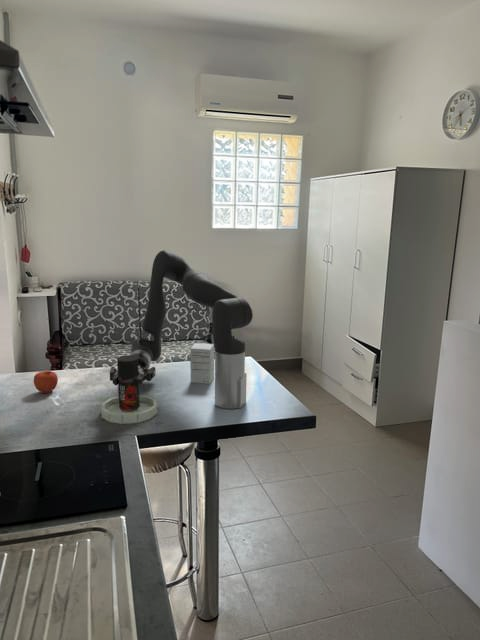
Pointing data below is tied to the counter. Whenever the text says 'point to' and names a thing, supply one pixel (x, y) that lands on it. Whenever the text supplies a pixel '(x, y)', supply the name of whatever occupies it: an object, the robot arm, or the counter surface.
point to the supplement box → (202, 363)
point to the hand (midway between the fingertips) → (126, 382)
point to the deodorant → (128, 382)
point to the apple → (45, 381)
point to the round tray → (140, 414)
